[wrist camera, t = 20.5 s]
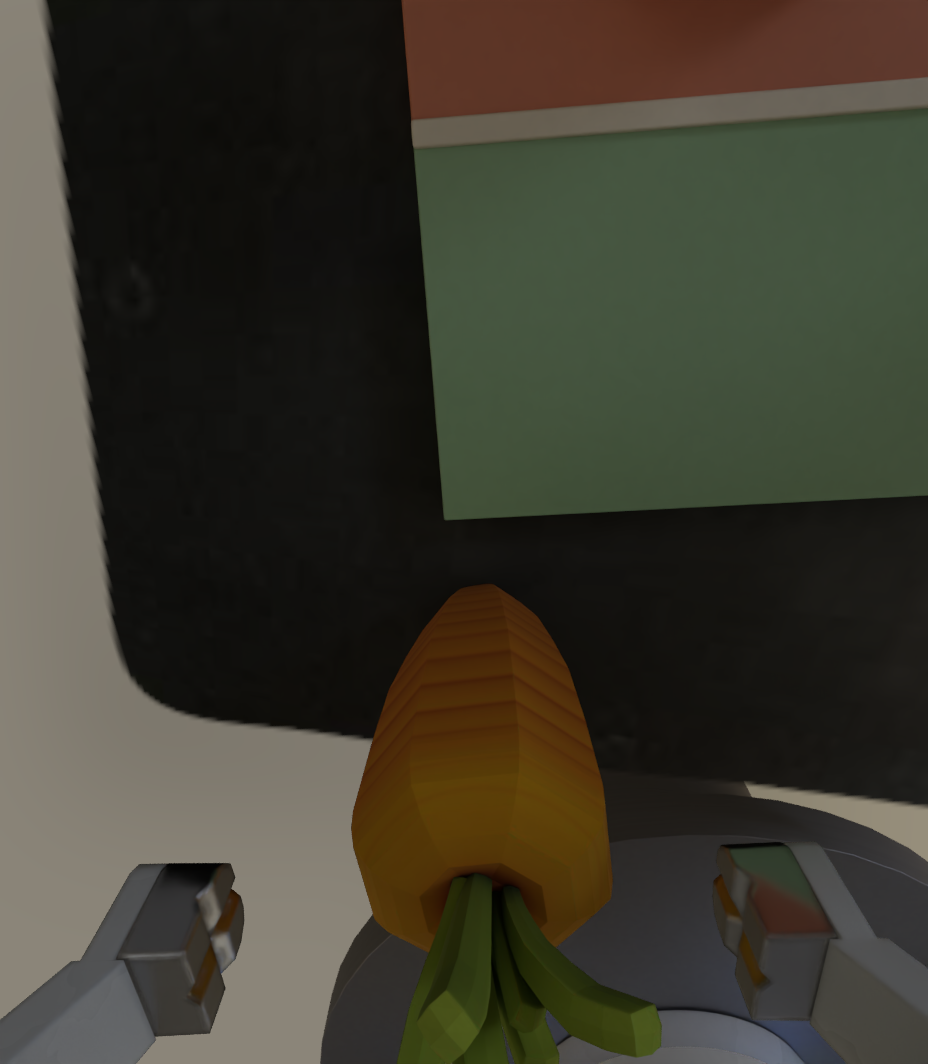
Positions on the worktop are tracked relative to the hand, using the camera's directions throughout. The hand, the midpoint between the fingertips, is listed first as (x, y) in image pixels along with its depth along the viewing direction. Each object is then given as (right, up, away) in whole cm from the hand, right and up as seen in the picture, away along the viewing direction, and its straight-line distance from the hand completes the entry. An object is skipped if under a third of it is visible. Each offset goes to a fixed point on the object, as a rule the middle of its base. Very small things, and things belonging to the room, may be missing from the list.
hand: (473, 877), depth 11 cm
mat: (+6, +16, +5) cm, 18 cm away
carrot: (0, +4, +11) cm, 11 cm away
